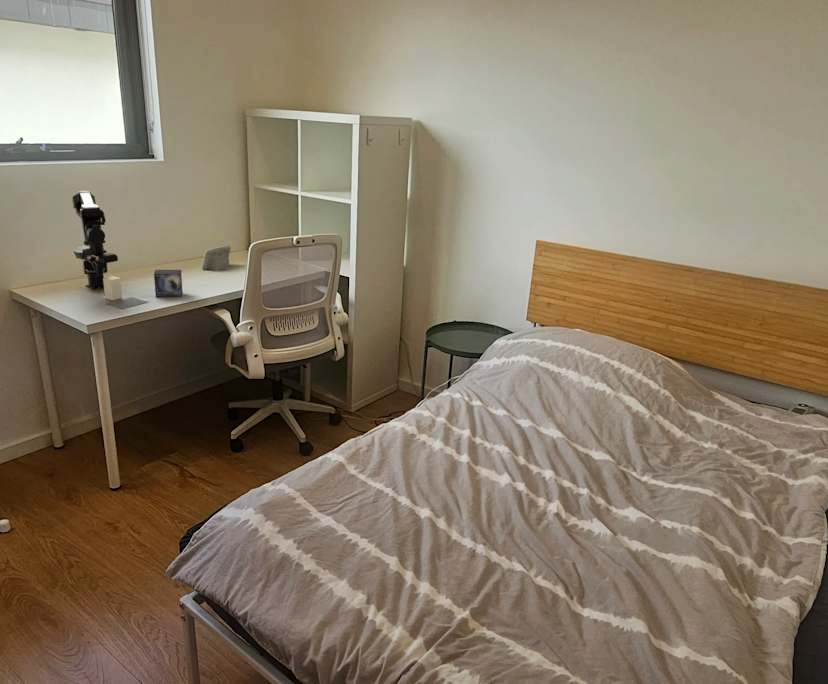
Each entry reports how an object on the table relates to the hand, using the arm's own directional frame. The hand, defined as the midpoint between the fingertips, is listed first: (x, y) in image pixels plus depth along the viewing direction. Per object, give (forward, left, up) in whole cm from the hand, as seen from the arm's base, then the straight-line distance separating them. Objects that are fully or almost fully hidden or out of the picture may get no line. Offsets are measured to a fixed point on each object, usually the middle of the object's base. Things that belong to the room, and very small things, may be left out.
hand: (99, 275), depth 249 cm
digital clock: (0, +64, -9) cm, 65 cm away
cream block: (+8, 0, -9) cm, 12 cm away
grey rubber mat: (+16, 0, -8) cm, 18 cm away
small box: (+19, +18, -9) cm, 28 cm away
